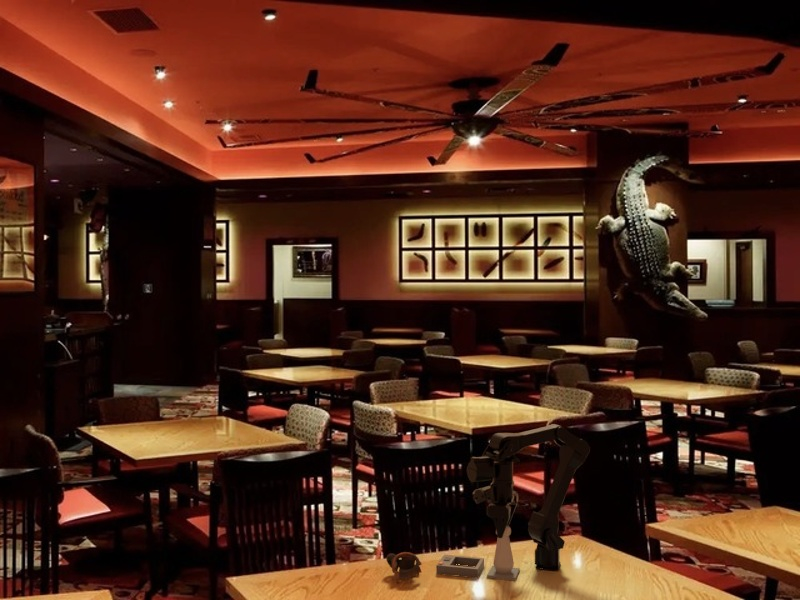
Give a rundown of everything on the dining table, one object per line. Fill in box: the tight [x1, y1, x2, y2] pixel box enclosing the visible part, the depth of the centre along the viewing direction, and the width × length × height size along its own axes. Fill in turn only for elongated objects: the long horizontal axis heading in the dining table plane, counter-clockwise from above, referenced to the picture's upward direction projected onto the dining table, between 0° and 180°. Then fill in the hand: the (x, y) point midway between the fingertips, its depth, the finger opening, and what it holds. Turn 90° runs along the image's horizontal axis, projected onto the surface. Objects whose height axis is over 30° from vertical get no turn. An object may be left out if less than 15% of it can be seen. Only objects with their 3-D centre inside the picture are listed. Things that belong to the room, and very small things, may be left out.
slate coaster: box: [486, 565, 520, 582], centre depth 225 cm, size 8×8×1 cm
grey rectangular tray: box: [435, 554, 485, 579], centre depth 229 cm, size 12×10×3 cm
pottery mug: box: [385, 551, 423, 584], centre depth 223 cm, size 12×10×8 cm
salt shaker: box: [493, 526, 515, 574], centre depth 225 cm, size 6×6×13 cm
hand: (502, 533), depth 225 cm, fingers open, 9 cm apart
